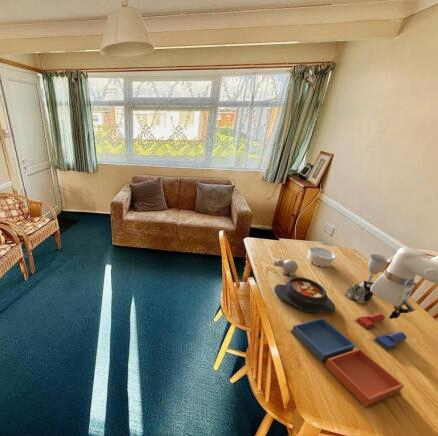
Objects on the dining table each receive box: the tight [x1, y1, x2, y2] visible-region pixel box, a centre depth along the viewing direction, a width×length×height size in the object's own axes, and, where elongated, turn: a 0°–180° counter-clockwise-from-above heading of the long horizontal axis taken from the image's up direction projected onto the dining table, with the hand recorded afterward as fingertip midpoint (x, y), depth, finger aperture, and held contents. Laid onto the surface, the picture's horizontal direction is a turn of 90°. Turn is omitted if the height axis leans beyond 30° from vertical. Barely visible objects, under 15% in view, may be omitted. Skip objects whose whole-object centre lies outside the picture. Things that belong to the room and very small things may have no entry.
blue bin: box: [291, 317, 356, 363], centre depth 90 cm, size 13×15×4 cm
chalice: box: [358, 253, 391, 289], centre depth 116 cm, size 7×7×18 cm
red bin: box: [324, 348, 405, 407], centre depth 77 cm, size 13×15×4 cm
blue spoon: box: [374, 331, 408, 350], centre depth 90 cm, size 11×4×3 cm, turn 105°
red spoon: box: [356, 312, 386, 329], centre depth 99 cm, size 11×4×3 cm, turn 105°
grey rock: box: [346, 283, 366, 305], centre depth 112 cm, size 11×8×4 cm
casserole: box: [273, 276, 336, 314], centre depth 109 cm, size 25×19×8 cm
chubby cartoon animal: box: [273, 257, 299, 278], centre depth 129 cm, size 7×12×8 cm, turn 51°
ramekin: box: [307, 246, 337, 268], centre depth 139 cm, size 13×13×7 cm
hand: (378, 308), depth 97 cm, fingers open, 9 cm apart
